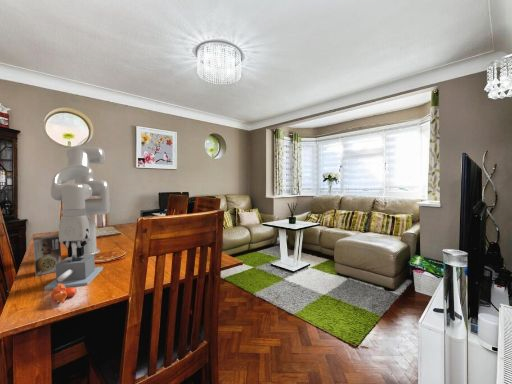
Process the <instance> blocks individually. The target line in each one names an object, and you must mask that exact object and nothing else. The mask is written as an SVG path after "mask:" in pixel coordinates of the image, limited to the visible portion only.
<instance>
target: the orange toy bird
mask: <svg viewBox="0 0 512 384" xmlns="http://www.w3.org/2000/svg"><path fill="white" fill-rule="evenodd" d="M76 294H77V288H76V287H75V286H74V287H65V285H64V284H57V287H56V288H54V289H52V292H51V293H50V295H49V296H50V300H51V301H52V302H55V304H60V303H61V304H64V303H65V300H66V299H67V298H73V297H74V296H75V295H76Z"/></svg>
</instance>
